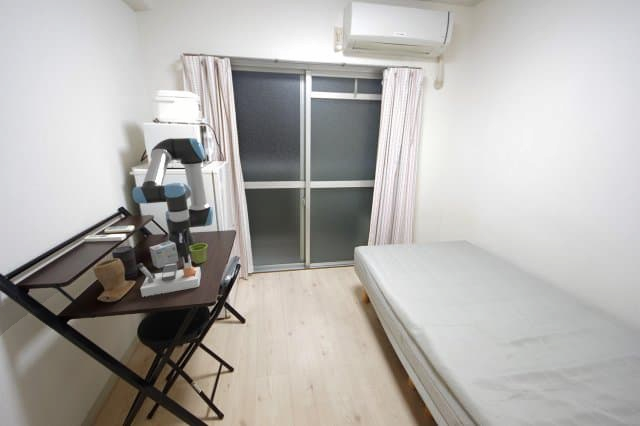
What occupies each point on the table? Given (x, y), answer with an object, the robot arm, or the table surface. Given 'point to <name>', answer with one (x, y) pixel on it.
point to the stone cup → (112, 279)
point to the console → (170, 283)
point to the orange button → (189, 272)
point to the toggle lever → (144, 270)
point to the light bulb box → (164, 254)
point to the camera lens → (127, 261)
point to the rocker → (169, 271)
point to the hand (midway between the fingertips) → (188, 267)
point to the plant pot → (198, 252)
